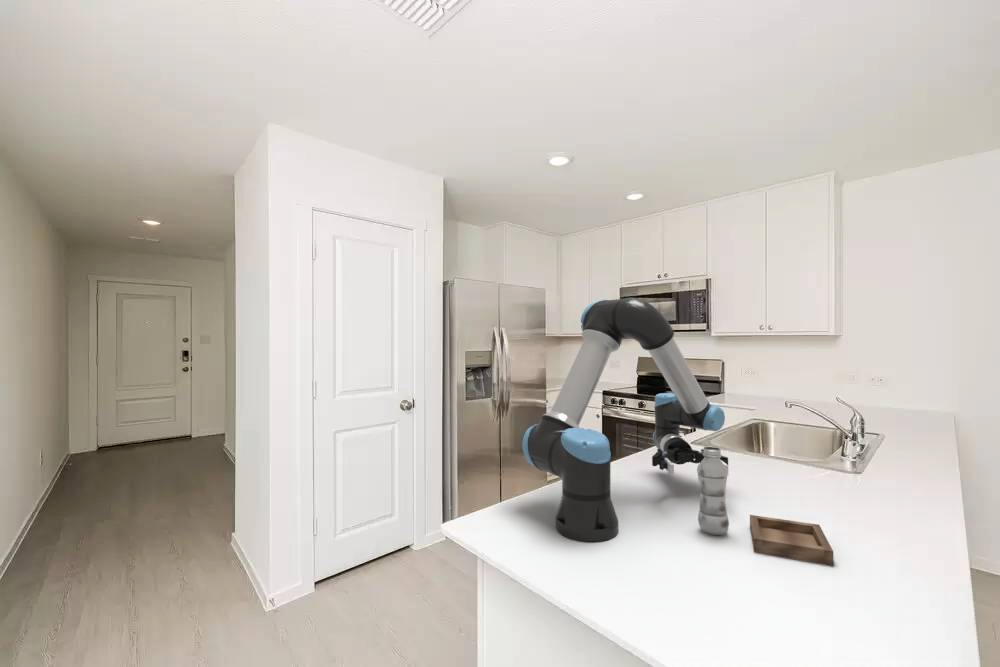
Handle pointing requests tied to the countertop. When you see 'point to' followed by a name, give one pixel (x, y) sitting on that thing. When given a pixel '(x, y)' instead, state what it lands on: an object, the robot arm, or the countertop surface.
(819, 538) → the wooden tray
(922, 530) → the countertop surface
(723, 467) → the plastic bottle
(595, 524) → the robot arm
